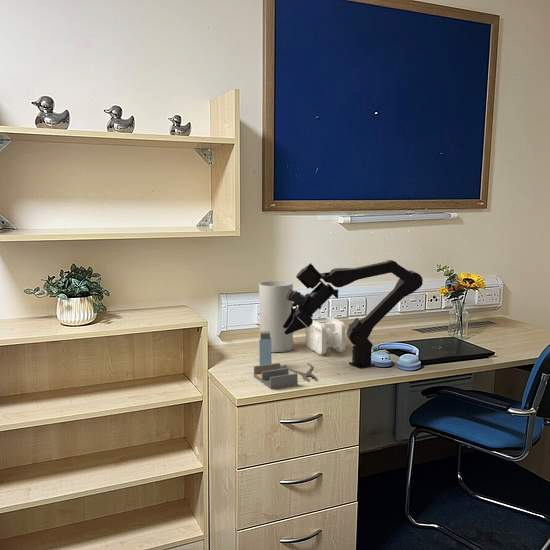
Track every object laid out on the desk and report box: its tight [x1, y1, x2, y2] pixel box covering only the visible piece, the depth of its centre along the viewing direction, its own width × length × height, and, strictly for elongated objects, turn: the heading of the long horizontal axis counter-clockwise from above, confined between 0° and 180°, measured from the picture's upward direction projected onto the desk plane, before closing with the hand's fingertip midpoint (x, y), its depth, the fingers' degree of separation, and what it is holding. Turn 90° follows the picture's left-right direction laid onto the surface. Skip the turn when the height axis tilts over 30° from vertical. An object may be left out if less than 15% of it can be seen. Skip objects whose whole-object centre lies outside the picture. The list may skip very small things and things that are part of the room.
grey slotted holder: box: [253, 362, 299, 390], centre depth 194 cm, size 9×14×4 cm, turn 24°
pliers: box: [283, 362, 318, 382], centre depth 204 cm, size 10×1×20 cm
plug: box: [258, 330, 273, 366], centre depth 209 cm, size 4×4×12 cm
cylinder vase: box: [258, 280, 294, 353], centre depth 232 cm, size 12×12×25 cm
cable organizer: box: [305, 316, 346, 356], centre depth 229 cm, size 15×11×12 cm
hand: (284, 330), depth 209 cm, fingers open, 9 cm apart
